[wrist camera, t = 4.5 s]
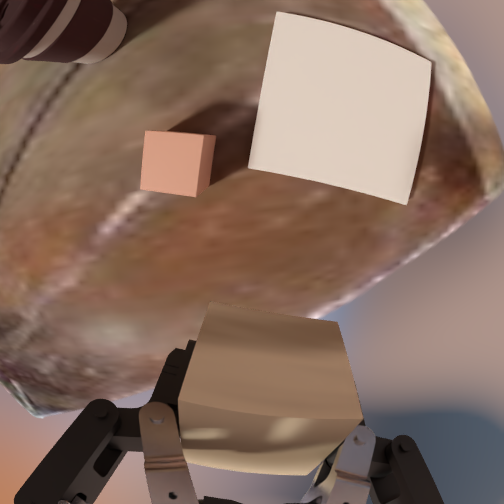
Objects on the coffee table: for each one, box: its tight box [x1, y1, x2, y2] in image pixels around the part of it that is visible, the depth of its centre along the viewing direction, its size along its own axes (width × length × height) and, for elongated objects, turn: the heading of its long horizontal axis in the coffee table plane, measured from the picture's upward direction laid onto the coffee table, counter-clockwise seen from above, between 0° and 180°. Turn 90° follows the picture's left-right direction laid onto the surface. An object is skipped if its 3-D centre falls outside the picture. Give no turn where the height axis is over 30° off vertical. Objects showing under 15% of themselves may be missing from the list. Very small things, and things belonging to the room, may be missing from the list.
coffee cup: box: [0, 0, 127, 64], centre depth 12 cm, size 10×10×15 cm
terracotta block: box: [140, 131, 216, 197], centre depth 23 cm, size 5×5×5 cm
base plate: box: [248, 12, 431, 205], centre depth 21 cm, size 16×16×1 cm
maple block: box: [178, 301, 363, 475], centre depth 10 cm, size 6×6×5 cm
